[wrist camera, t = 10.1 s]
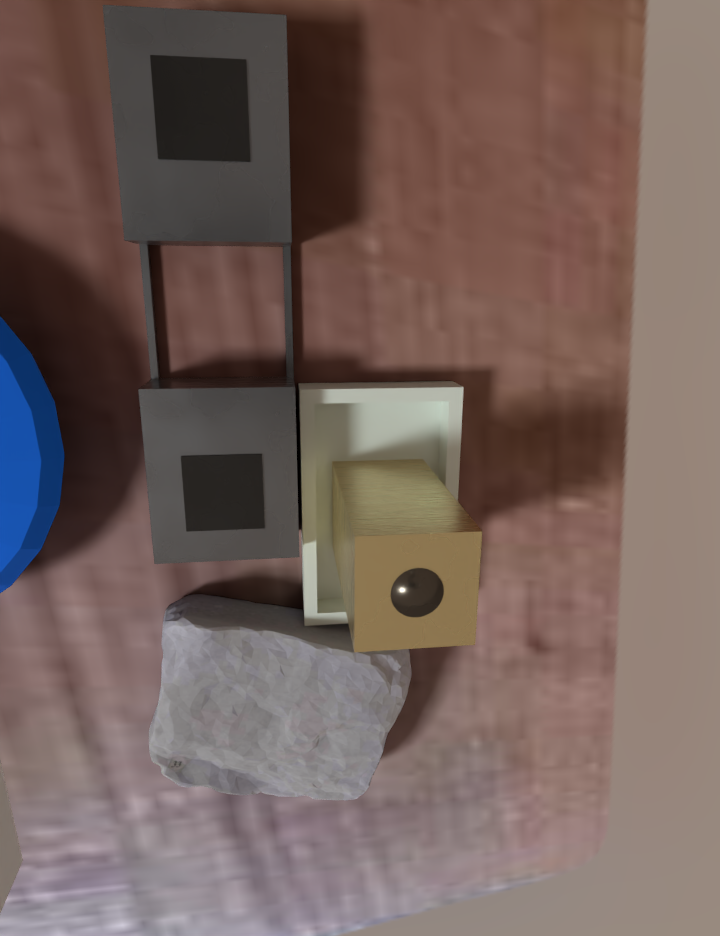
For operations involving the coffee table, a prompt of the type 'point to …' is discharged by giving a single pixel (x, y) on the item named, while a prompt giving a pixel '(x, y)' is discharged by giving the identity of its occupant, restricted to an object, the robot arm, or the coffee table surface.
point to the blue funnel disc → (25, 458)
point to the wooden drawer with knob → (403, 556)
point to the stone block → (271, 701)
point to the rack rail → (209, 224)
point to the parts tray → (361, 439)
